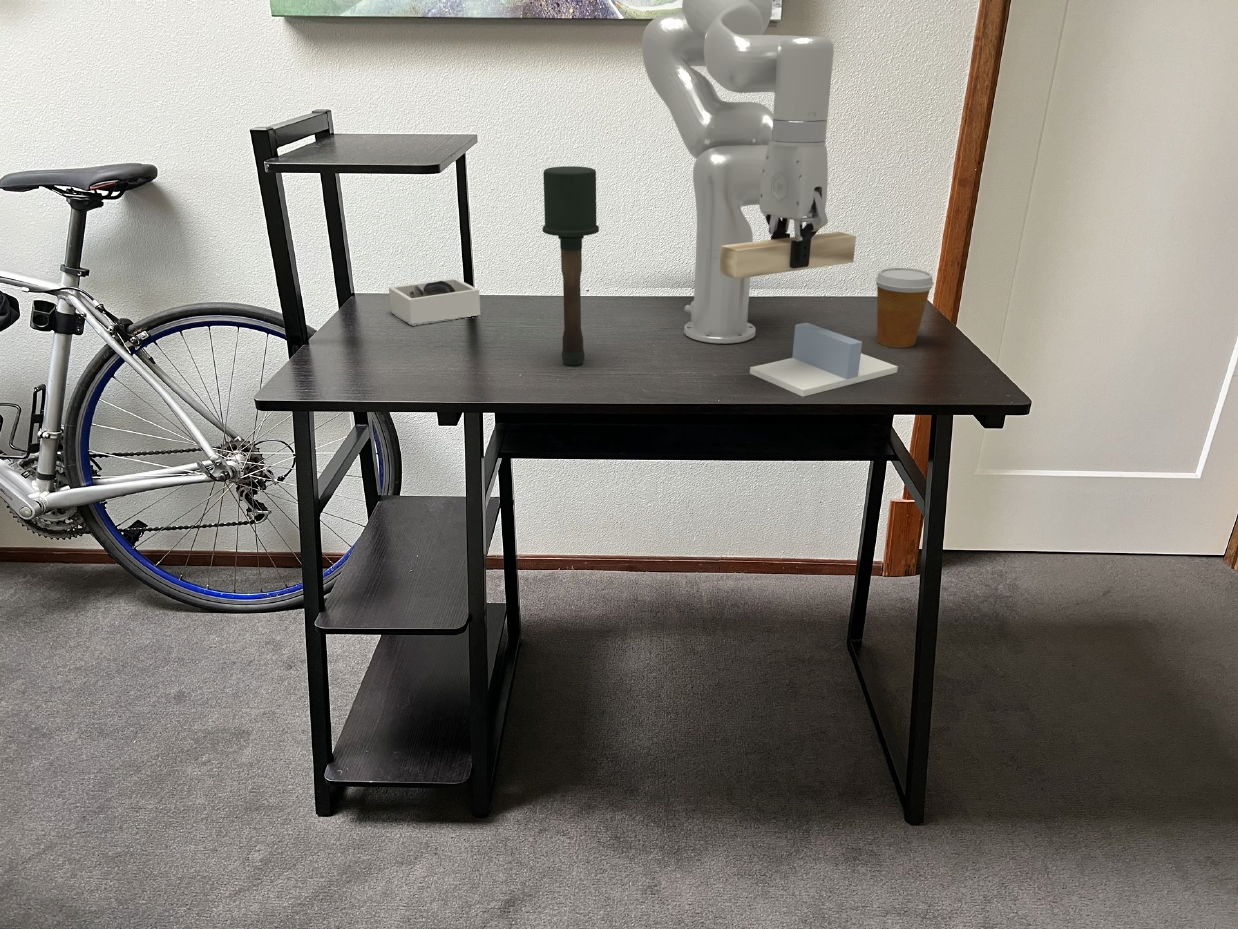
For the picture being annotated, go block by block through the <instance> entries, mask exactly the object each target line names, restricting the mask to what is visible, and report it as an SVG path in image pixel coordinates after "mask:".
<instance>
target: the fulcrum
mask: <svg viewBox="0 0 1238 929" xmlns="http://www.w3.org/2000/svg"><path fill="white" fill-rule="evenodd" d="M793 335H794V337H793V345H792V347H793V348H792V355H791V356H792V357H791V358H786V359H781V360H777V361H773V362H768V363H764V364H759V365H754V366H750V367H749V374H750V375H753V376H755V377H758V378H759V379H762V380H764V381H766V382H768V383H771V384H772V385H775V386H778V387H780V388H782V389H785V390H787V391H789V392H791V393H794V394H795V395H798V396H800V397H807V396H812V395H815V394H818V393H819V394H820V393H823V392H826V391H829V390H830V391H831V390H834V389H838V388H842V387H847V386H850V385H854V384H857V383H858V384H859V383H862V382H865V381H869V380H874V379H878V378H882V377H885V376H889V375H893V374H896V373H898V367H899V366H898V365H894V364H892V363H889V362H887V361H883V360H881V359H879V358H875V357H872V356H870V355H866V354H864V353H862V346H863V341H861V340H858V339H855V338H852V337H849V336H848V335H847V336H846V335H843V334H841V333H838V332H835V331H832V330H829V329H826V328H823V327H821V326H817V325H815V324H812V323H809V322H803V323H798V324H794V334H793Z"/></svg>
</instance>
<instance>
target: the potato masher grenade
mask: <svg viewBox="0 0 1238 929" xmlns="http://www.w3.org/2000/svg"><path fill="white" fill-rule="evenodd" d="M543 203H544V204H543V206H544V207H543V208H544V224H543V226H542V232H543V233H544V234H546V235H549V236H556V237H558V239H559V245H560V246H559V247H560V259H561V260H560V262H561V263H560V268H561V269H560V270H561V273H562V274H561V275H562V283H563V284H562V286H563V288H562V289H563V290H562V291H563V333H562V351H561V360H562V362H563V364H565V365H567V366H580V365H582V364H583V363H584V360H585V356H586V354H585V350H584V336H583V332H582V315H581V314H582V313H581V312H582V310H581V309H582V307H581V306H582V305H581V302H582V300H581V298H582V297H581V295H582V294H581V276H582V272H583V271H582V270H583V265H582V264H583V261H582V260H583V259H582V257H583V256H582V254H583V253H582V251H583V250H582V249H583V239H584V236H590V235H591V236H592V235H594V234H598V233H599V232H600V226H599V225H597V171H596V169H595V168H592V167H585V166H574V165H573V166H571V165H569V166H568V165H567V166H553V167H547V168H545V169H544V171H543Z"/></svg>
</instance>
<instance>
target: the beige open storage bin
mask: <svg viewBox="0 0 1238 929" xmlns="http://www.w3.org/2000/svg"><path fill="white" fill-rule="evenodd" d="M437 281H443V282H444V281H445V282H447V283H449V284H450V285H451V286H452V287H453V288H454V289H455V292H453V293H446V294H439V295H432V296H425V297H419V296H421V295H420V294H419V293H418V292H417V290H416V288H415V285H417V286H418V287H419V288H420V289H421V290H423V289H424V287H425V286H426V284H428V283H433V282H437ZM388 291H389V292H388V295H389V303H390V310H391V309H392V310H394V311H395V312H396V313H398V314H399V315H401V316H402V317H403V318H404V319H406V320H407V321H409V322H410V323H412V324H413V323H422V322H427V321H438V320H444V319H455V318H458V317H471V316H477V315H481V316H482V314H481V313H482V312H481V299H480V289H478V288H476V287H474V286H472V285H470V284H469V283H467V282H465V281H462V280H461V279H459V278H456V277H455V278H448V279H441V280H440V279H439V280H432V281H427V282H426V281H425V282H417V283H411V284H404V285H395V286H389V287H388ZM412 291H413V292H414V294H415V295H416V297H418V298H416V297H415V298H410V297H409V296H410V293H409V292H412ZM423 291H424V290H423ZM407 294H408V295H409V296H407Z"/></svg>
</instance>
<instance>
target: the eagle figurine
mask: <svg viewBox="0 0 1238 929" xmlns="http://www.w3.org/2000/svg"><path fill="white" fill-rule="evenodd" d="M436 281H437V282H433V283H428V284H426V286H425V287H424V289H423V290H424V291H423V290H421V289H420V288H419V287H418V286H417V285H415V288H416V290H417V292H418V293H419V294H420V295H421V296H419V297H425V296H432V295H439V294H446V293H453V292H455V289H454V288H453V287H452V286H451V285H450V284H449V283H447V282H445V281H444V282H443V281H439V280H436ZM409 293H410V296H409V295H408V294H407V296H409V297H410V298H415V297H416V295H415V294H414V292H413V291H412V292H409ZM416 298H418V297H416Z"/></svg>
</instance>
